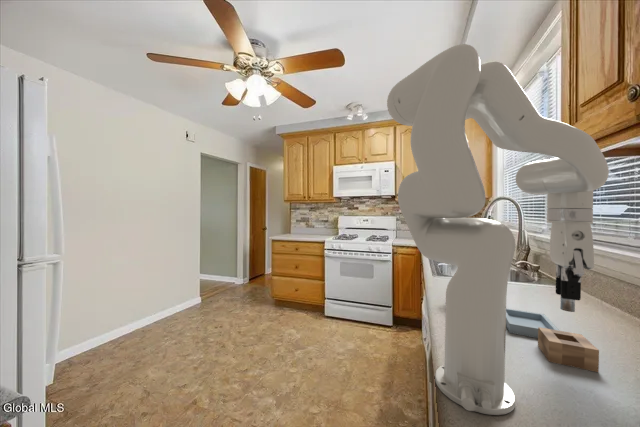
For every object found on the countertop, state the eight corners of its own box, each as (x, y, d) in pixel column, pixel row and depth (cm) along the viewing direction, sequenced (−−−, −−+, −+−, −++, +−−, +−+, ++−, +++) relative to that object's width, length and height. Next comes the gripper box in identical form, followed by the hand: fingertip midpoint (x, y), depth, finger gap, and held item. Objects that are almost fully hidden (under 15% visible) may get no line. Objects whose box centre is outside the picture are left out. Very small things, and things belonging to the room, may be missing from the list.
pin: (576, 312, 58) (577, 268, 57) (562, 310, 59) (563, 266, 59) (572, 309, 60) (573, 266, 60) (558, 307, 61) (559, 265, 61)
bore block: (598, 372, 54) (599, 350, 54) (548, 361, 57) (549, 341, 57) (580, 353, 61) (581, 334, 61) (537, 345, 64) (538, 327, 64)
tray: (561, 342, 66) (561, 332, 66) (509, 332, 71) (509, 323, 71) (543, 322, 79) (544, 314, 79) (500, 315, 84) (500, 307, 84)
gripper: (611, 217, 50) (609, 312, 50) (575, 216, 65) (574, 290, 65) (561, 217, 54) (559, 305, 54) (537, 216, 68) (536, 285, 68)
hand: (567, 296), depth 59 cm, fingers closed on pin, 2 cm apart
